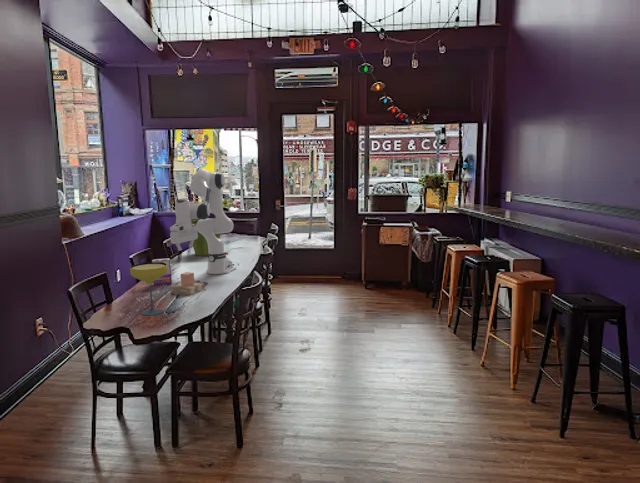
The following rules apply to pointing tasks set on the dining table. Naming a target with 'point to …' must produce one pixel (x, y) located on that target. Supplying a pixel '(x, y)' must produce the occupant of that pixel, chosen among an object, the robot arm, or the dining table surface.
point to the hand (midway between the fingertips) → (185, 249)
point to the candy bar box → (167, 277)
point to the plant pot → (201, 243)
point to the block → (187, 279)
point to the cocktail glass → (149, 279)
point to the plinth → (188, 289)
